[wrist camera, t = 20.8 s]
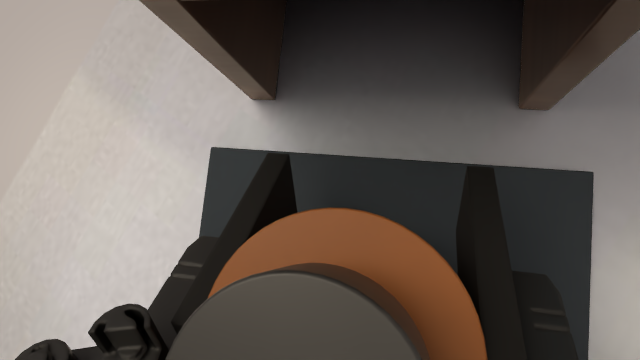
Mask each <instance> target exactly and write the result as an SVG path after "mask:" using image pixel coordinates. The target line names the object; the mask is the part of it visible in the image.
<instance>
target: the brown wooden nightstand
mask: <svg viewBox="0 0 640 360" xmlns="http://www.w3.org/2000/svg"><path fill="white" fill-rule="evenodd" d="M139 1H140V2H142V3H143V4H144V5H145V6H146V7H147V8H148V9H150V10H151V11H152V12H153V13H154V14H155V15H156V16H158V17H159V18H160V19H161V20H162V21H163V22H164V23H166V24H167V25H168V26H169V27H170V28H171V29H172V30H174V31H175V32H176V33H177V34H178V35H179V36H180V37H182V38H183V39H184V40H185V41H186V42H187V43H188V44H189V45H191V46H192V47H193V48H194V49H195V50H196V51H197V52H199V53H200V54H201V55H202V56H203V57H204V58H205V59H207V60H208V61H209V62H210V63H211V64H212V65H213V66H215V67H216V68H217V69H218V70H219V71H220V72H221V73H223V74H224V75H225V76H226V77H227V78H228V79H229V80H230V81H232V82H233V83H234V84H235V85H236V86H237V87H238V88H240V89H241V90H242V91H243V92H244V93H245V94H246V95H248V96H249V97H250V98H251V99H260V100H275V95H276V86H277V78H278V70H279V61H280V53H281V45H282V36H283V28H284V19H285V11H286V3H287V0H139ZM639 29H640V0H524V10H523V29H522V49H521V68H520V88H519V108H520V109H537V110H549V109H550V108H552V107H553V106H554V105H555V104H556V103H557V102H558V101H559V100H561V99H562V98H563V97H564V96H565V95H566V94H567V93H568V92H570V91H571V90H572V89H573V88H574V87H575V86H576V85H577V84H579V83H580V82H581V81H582V80H583V79H584V78H585V77H586V76H587V75H589V74H590V73H591V72H592V71H593V70H594V69H595V68H596V67H598V66H599V65H600V64H601V63H602V62H603V61H604V60H605V59H607V58H608V57H609V56H610V55H611V54H612V53H613V52H614V51H616V50H617V49H618V48H619V47H620V46H621V45H622V44H623V43H625V42H626V41H627V40H628V39H629V38H630V37H631V36H632V35H633V34H635V33H636V32H637V31H638V30H639Z"/></svg>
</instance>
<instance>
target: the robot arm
mask: <svg viewBox="0 0 640 360" xmlns="http://www.w3.org/2000/svg"><path fill="white" fill-rule="evenodd" d="M294 213H298V212H297V205H296V198H295V191H294V184H293V177H292V170H291V163H290V156H289V154H279V153H267V155H266V157H265V158H264V160H263V162H262V164H261V165H260V167H259V169H258V171H257V172H256V174H255V176H254V178H253V179H252V181H251V183H250V185H249V186H248V188H247V190H246V192H245V193H244V195H243V197H242V198H241V200H240V202H239V204H238V205H237V207H236V209H235V211H234V212H233V214H232V216H231V218H230V219H229V221H228V223H227V225H226V226H225V228H224V230H223V232H222V233H221V235H220V237H210V236H201V237H200V238H199V239H197V240H196V241H195V242H194V243H193V244H191V245H190V246H189V247H188V248H187V249H186V251H185V252H184V254H183V256H182V257H181V259H180V260H179V262H178V265H176V267H175V268H174V270H173V271H172V273H171V276H170V277H169V278H168V279H167V281H166V282H165V284H164V285H163V287H162V288H161V290H160V292H159V293H158V295H157V296H156V298H155V299H154V301H153V303H152V304H151V306H150V307H149V309H148V310H147V309H146V308H144V307H142V306H140V305H138V304H126V305H122V306H118V307H115V308H113V309H111V310H110V311H108V312H106V313H104V314H103V315H102V316H101V317H100V318H99V319H98V320H97V321H96V322H95V323H94V324H93V326H92V327H91V329H90V330H89V332H88V334H89V335H90V336H91V338H92V339H93V340H94V342H95V343H96V345H97V346H95V347H88V348H82V349H75V350H71V349H70V348H69V347H68V345H67V344H66V343H65V342H63V341H61V340H58V339H51V340H44V341H42V342H39V343H36V344H34V345H32V346H31V347H29V348H28V349H26V350H25V351H23V352H22V353H21V354H20V355H19V356H18V357H17V358H16V359H15V360H165V359H166V357H167V355H168V352H169V350H170V348H171V346H172V344H173V342H174V340H175V338H176V336H177V335H178V333H179V331H180V330H181V328H182V327H183V325H184V324H185V322H186V321H187V320H188V319H189V317H190V316H191V315H192V314H193V312H194V311H195V310H196V309H197V308H198V307H199V306H200V305H201V304H203V303H204V302H205V301H206V300H207V299H208V296H209V294H210V292H211V289H212V287H213V285H214V283H215V281H216V279H217V277H218V275H219V274H220V272H221V271H222V269H223V267H224V266H225V264H226V263H227V262H228V260H229V259H230V258H231V257H232V255H233V254H234V253H235V252H236V250H237V249H238V248H240V247H241V246H242V245H243V244H244V243H245V242H246V241H247V240H248V239H249V238H250V237H252V236H253V235H254V234H256V233H257V232H258V231H260V230H261V229H262V228H264V227H266V226H268V225H270V224H271V223H273V222H275V221H277V220H279V219H281V218H284V217H287V216H289V215H292V214H294ZM456 247H457V270H458V277H459V278H460V280H461V281H462V283H463V285H464V287H465V288H466V290H467V292H468V294H469V295H470V297H471V300H472V302H473V304H474V307H475V309H476V312H477V314H478V316H479V320H480V324H481V327H482V331H483V334H484V339H485V346H486V353H487V360H579V358H578V355H577V351H576V348H575V344H574V340H573V337H572V334H571V333H570V326H569V322H568V319H567V317H566V311H565V308H564V304H563V301H562V297H561V293H560V292H559V291H558V289H557V288H556V287H555V285H554V284H553V283H552V281H551V280H550V279H549V277H548V276H547V275H545V274H537V273H528V272H519V271H512V269H511V264H510V258H509V252H508V247H507V241H506V235H505V229H504V224H503V218H502V212H501V207H500V201H499V195H498V189H497V184H496V178H495V172H494V168H492V167H477V166H467V169H466V175H465V180H464V186H463V192H462V198H461V203H460V209H459V215H458V221H457V226H456Z"/></svg>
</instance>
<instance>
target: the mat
mask: <svg viewBox="0 0 640 360" xmlns="http://www.w3.org/2000/svg"><path fill="white" fill-rule="evenodd" d="M267 153H279V154H289V156H290V163H291V170H292V177H293V184H294V191H295V198H296V205H297V212H302V211H307V210H311V209H320V208H350V209H356V210H362V211H367V212H370V213H373V214H377V215H380V216H383V217H385V218H388V219H390V220H392V221H394V222H397V223H399V224H401V225H403V226H404V227H406V228H407V229H409V230H411V231H412V232H414V233H416V234H417V235H419V236H420V237H421V238H422V239H424V240H425V241H426V242H427V243H429V244H430V245H431V246H432V247H433V248H434V249H435V250H436V251H437V252H438V253H439V254H440V255H441V256H442V257H443V258H444V259H445V260H446V261H447V262H448V263H449V265H450V266H451V267H452V269H453V270H454V271H455V273H456V274H457V275H458V270H457V247H456V226H457V221H458V215H459V209H460V203H461V198H462V192H463V186H464V180H465V175H466V169H467V166H477V167H492V168H494V172H495V178H496V184H497V189H498V195H499V201H500V207H501V212H502V218H503V224H504V229H505V235H506V241H507V247H508V252H509V258H510V264H511V269H512V271H519V272H528V273H537V274H545V275H547V276H548V277H549V279H550V280H551V281H552V283H553V284H554V285H555V287H556V288H557V289H558V291H559V292H560V293H561V297H562V301H563V304H564V308H565V311H566V317H567V319H568V322H569V326H570V333H571V334H572V337H573V340H574V344H575V348H576V351H577V355H578V358H579V360H588V341H589V307H590V273H591V239H592V205H593V172H585V171H569V170H554V169H539V168H523V167H508V166H493V165H477V164H462V163H447V162H432V161H416V160H401V159H386V158H370V157H355V156H340V155H324V154H309V153H294V152H278V151H263V150H248V149H233V148H217V147H212V148H211V153H210V160H209V168H208V175H207V183H206V190H205V197H204V205H203V212H202V219H201V227H200V234H199V238H200V237H201V236H210V237H220V235H221V233H222V232H223V230H224V228H225V226H226V225H227V223H228V221H229V219H230V218H231V216H232V214H233V212H234V211H235V209H236V207H237V205H238V204H239V202H240V200H241V198H242V197H243V195H244V193H245V192H246V190H247V188H248V186H249V185H250V183H251V181H252V179H253V178H254V176H255V174H256V172H257V171H258V169H259V167H260V165H261V164H262V162H263V160H264V158H265V157H266V155H267Z"/></svg>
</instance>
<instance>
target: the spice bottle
mask: <svg viewBox="0 0 640 360" xmlns="http://www.w3.org/2000/svg"><path fill="white" fill-rule="evenodd" d="M165 360H487V353H486V346H485V339H484V334H483V331H482V327H481V324H480V320H479V316H478V314H477V312H476V309H475V307H474V304H473V302H472V300H471V297H470V295H469V294H468V292H467V290H466V288H465V287H464V285H463V283H462V281H461V280H460V278H459V277H458V275H457V274H456V273H455V271H454V270H453V269H452V267H451V266H450V265H449V263H448V262H447V261H446V260H445V259H444V258H443V257H442V256H441V255H440V254H439V253H438V252H437V251H436V250H435V249H434V248H433V247H432V246H431V245H430V244H429V243H427V242H426V241H425V240H424V239H422V238H421V237H420V236H419V235H417V234H416V233H414V232H412V231H411V230H409V229H407V228H406V227H404V226H403V225H401V224H399V223H397V222H394V221H392V220H390V219H388V218H385V217H383V216H380V215H377V214H373V213H370V212H367V211H362V210H356V209H350V208H320V209H311V210H307V211H302V212H298V213H294V214H292V215H289V216H287V217H284V218H281V219H279V220H277V221H275V222H273V223H271V224H270V225H268V226H266V227H264V228H262V229H261V230H260V231H258V232H257V233H256V234H254V235H253V236H252V237H250V238H249V239H248V240H247V241H246V242H245V243H244V244H243V245H242V246H241V247H240V248H238V249H237V250H236V252H235V253H234V254H233V255H232V257H231V258H230V259H229V260H228V262H227V263H226V264H225V266H224V267H223V269H222V271H221V272H220V274H219V275H218V277H217V279H216V281H215V283H214V285H213V287H212V289H211V292H210V294H209V296H208V299H207V300H206V301H205V302H204V303H203V304H201V305H200V306H199V307H198V308H197V309H196V310H195V311H194V312H193V314H192V315H191V316H190V317H189V319H188V320H187V321H186V322H185V324H184V325H183V327H182V328H181V330H180V331H179V333H178V335H177V336H176V338H175V340H174V342H173V344H172V346H171V348H170V350H169V352H168V355H167V357H166V359H165Z"/></svg>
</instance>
